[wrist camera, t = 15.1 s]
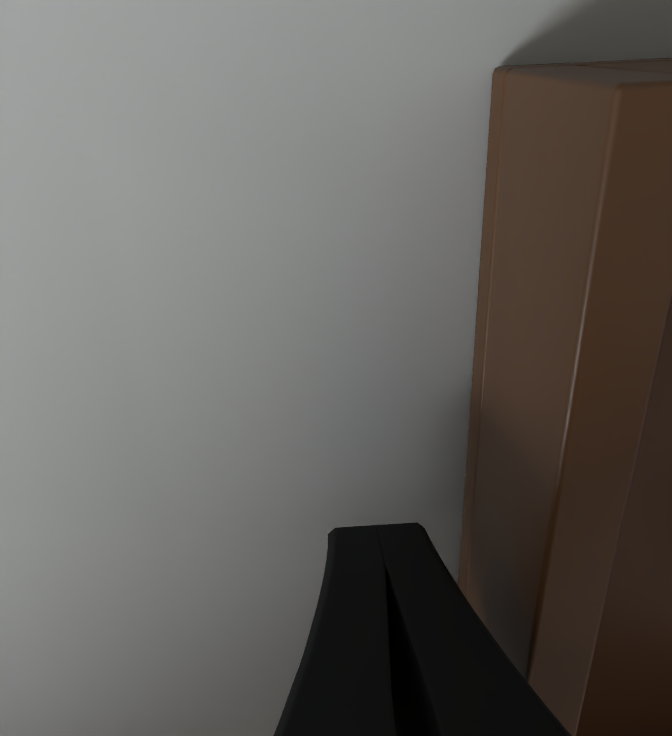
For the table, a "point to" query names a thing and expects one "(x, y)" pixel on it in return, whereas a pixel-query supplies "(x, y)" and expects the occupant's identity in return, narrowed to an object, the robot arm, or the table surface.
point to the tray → (576, 392)
